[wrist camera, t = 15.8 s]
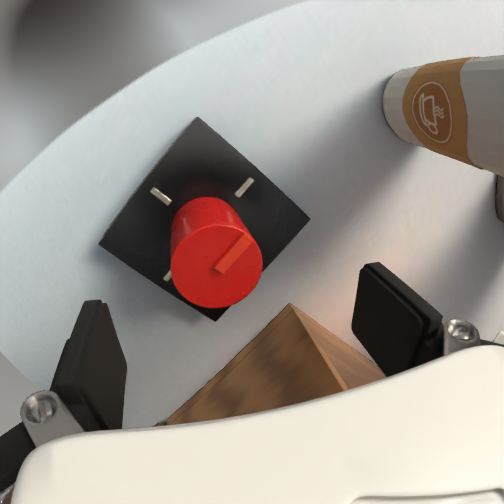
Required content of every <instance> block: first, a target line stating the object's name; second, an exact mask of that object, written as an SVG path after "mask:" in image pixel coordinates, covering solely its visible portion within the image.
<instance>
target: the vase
mask: <svg viewBox="0 0 504 504" xmlns="http://www.w3.org/2000/svg"><path fill="white" fill-rule="evenodd" d="M496 209H497V214H498V218H499V219H500V220H501V221H502V222H504V177H502V176H500V175H499V177H498V182H497V193H496Z"/></svg>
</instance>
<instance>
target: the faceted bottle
mask: <svg viewBox="0 0 504 504" xmlns="http://www.w3.org/2000/svg"><path fill="white" fill-rule="evenodd" d="M493 342H494V343H499V344H503V345H504V331H503V332H500V333H499V334H498V336H497V337H496V338H495V339H494V341H493Z"/></svg>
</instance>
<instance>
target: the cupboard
mask: <svg viewBox="0 0 504 504" xmlns="http://www.w3.org/2000/svg"><path fill="white" fill-rule="evenodd" d="M384 378H387V377H386V376H385V374H384V373H383V372H382V370H381V369H380V368H379V367H378V366H377V365H375V364H374V363H373V362H371V361H370V360H368V359H367V358H365V357H364V356H363V355H361V354H360V353H358V352H357V351H356V350H354V349H353V348H351V347H350V346H349V345H347V344H346V343H344V342H343V341H342V340H340V339H339V338H337V337H336V336H335V335H333V334H332V333H330V332H329V331H328V330H326V329H325V328H323V327H322V326H321V325H319V324H318V323H316V322H315V321H314V320H312V319H311V318H310V317H308V316H307V315H305V314H304V313H303V312H301V311H300V310H299V309H297V308H296V307H294V306H293V305H292V304H290V303H289V304H288V305H287V306H286V307H285V308H284V310H283V311H282V312H281V313H280V314H279V315H278V316H277V317H276V318H275V319H274V320H273V321H272V322H271V323H270V324H269V325H268V326H267V327H266V328H265V329H264V330H263V331H262V332H261V333H260V334H259V335H258V336H257V337H256V338H255V339H253V340H252V341H251V342H250V343H249V344H248V345H247V346H246V347H245V348H244V349H243V350H242V351H241V352H240V353H239V354H238V355H237V356H236V357H235V358H234V359H233V360H232V361H231V362H230V363H229V364H228V365H226V366H225V367H224V368H223V369H222V370H221V371H220V372H219V373H218V374H217V375H216V376H215V377H214V378H213V379H212V380H210V381H209V382H208V383H207V384H206V385H205V386H204V387H203V388H202V389H201V390H200V391H198V392H197V393H196V394H195V395H194V396H193V397H192V398H191V399H190V400H188V401H187V402H186V403H185V404H184V405H183V406H182V407H181V408H180V409H178V410H177V411H176V412H175V413H174V414H173V415H172V416H170V417H169V418H168V419H167V425H176V424H185V423H194V422H202V421H209V420H216V419H223V418H229V417H235V416H241V415H246V414H251V413H257V412H262V411H267V410H272V409H276V408H281V407H285V406H290V405H294V404H298V403H302V402H306V401H310V400H314V399H318V398H322V397H325V396H329V395H333V394H336V393H339V392H343V391H346V390H350V389H353V388H356V387H359V386H363V385H366V384H369V383H372V382H375V381H378V380H381V379H384Z"/></svg>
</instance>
